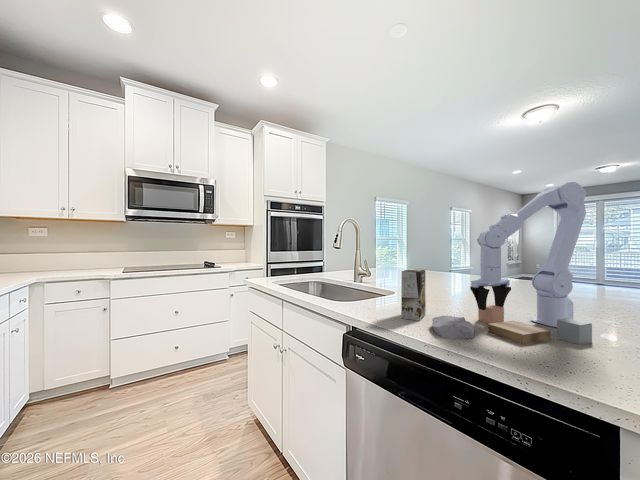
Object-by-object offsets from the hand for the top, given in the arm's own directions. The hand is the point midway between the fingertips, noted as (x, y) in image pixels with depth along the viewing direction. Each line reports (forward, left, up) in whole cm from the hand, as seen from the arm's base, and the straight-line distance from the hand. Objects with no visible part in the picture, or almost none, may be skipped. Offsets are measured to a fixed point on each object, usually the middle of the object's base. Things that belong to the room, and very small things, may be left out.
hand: (490, 308), depth 90 cm
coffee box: (+20, -13, -4) cm, 24 cm away
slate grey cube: (-5, +20, -4) cm, 21 cm away
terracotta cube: (0, 0, -4) cm, 4 cm away
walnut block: (+6, +13, -5) cm, 15 cm away
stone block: (+20, +4, -5) cm, 21 cm away
